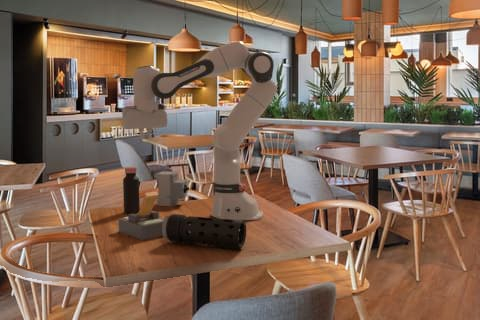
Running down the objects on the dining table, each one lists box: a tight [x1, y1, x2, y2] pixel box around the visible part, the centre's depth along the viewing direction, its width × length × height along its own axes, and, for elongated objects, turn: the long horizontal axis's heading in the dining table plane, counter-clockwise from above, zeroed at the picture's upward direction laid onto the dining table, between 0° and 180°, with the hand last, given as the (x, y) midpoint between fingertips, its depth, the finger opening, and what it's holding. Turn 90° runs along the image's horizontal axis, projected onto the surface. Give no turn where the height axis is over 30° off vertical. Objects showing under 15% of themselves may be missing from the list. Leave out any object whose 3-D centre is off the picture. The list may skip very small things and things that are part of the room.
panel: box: [118, 210, 165, 241], centre depth 193 cm, size 16×12×8 cm
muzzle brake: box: [162, 213, 247, 250], centre depth 177 cm, size 10×28×10 cm, turn 72°
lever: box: [136, 190, 159, 219], centre depth 190 cm, size 2×5×12 cm
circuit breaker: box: [155, 171, 190, 207], centre depth 241 cm, size 8×14×15 cm, turn 78°
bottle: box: [122, 166, 141, 215], centre depth 225 cm, size 7×7×20 cm
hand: (145, 139), depth 214 cm, fingers closed
